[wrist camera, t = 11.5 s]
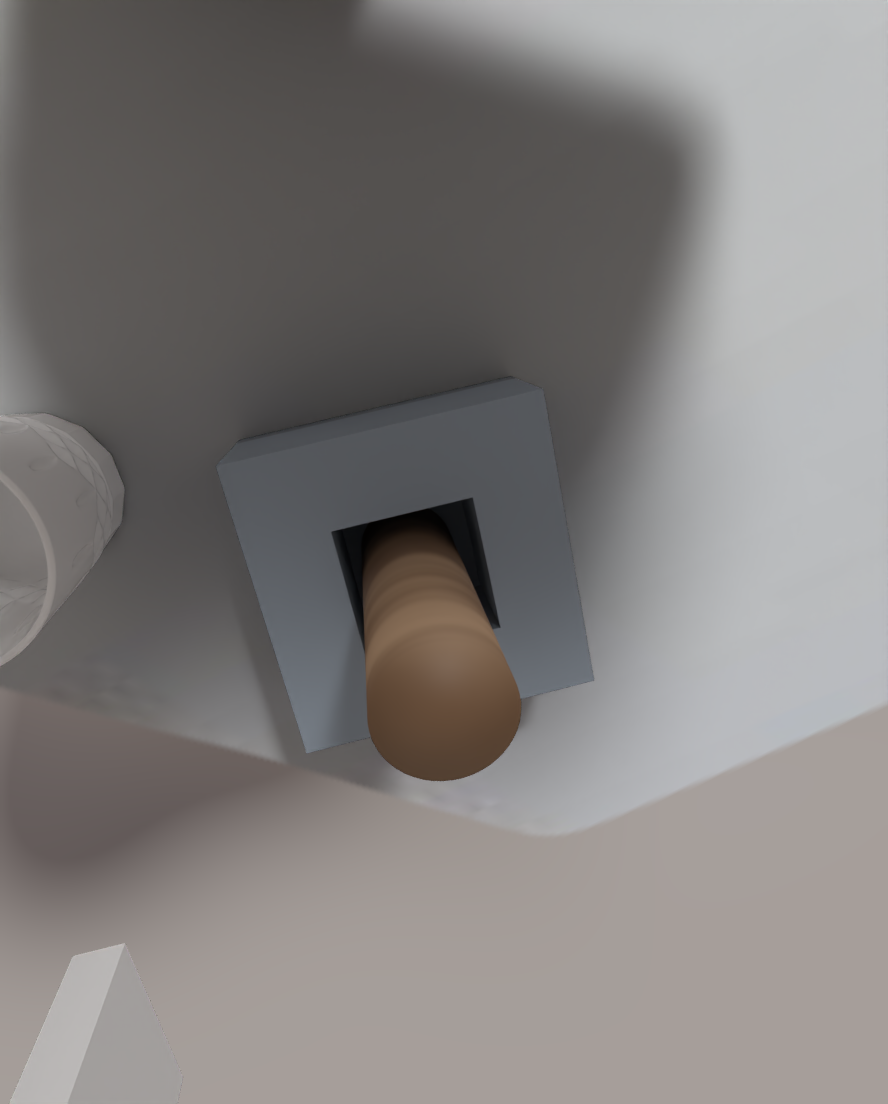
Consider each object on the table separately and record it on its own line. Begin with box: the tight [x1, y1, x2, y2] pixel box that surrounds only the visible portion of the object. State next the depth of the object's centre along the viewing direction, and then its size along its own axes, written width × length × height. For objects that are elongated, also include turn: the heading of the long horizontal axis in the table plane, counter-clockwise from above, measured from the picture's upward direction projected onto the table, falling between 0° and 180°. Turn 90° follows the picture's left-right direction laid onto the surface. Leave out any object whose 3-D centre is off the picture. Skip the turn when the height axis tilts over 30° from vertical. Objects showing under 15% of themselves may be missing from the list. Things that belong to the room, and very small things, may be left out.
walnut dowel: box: [361, 508, 521, 781], centre depth 27 cm, size 4×4×15 cm
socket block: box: [216, 376, 594, 753], centre depth 32 cm, size 12×12×6 cm
